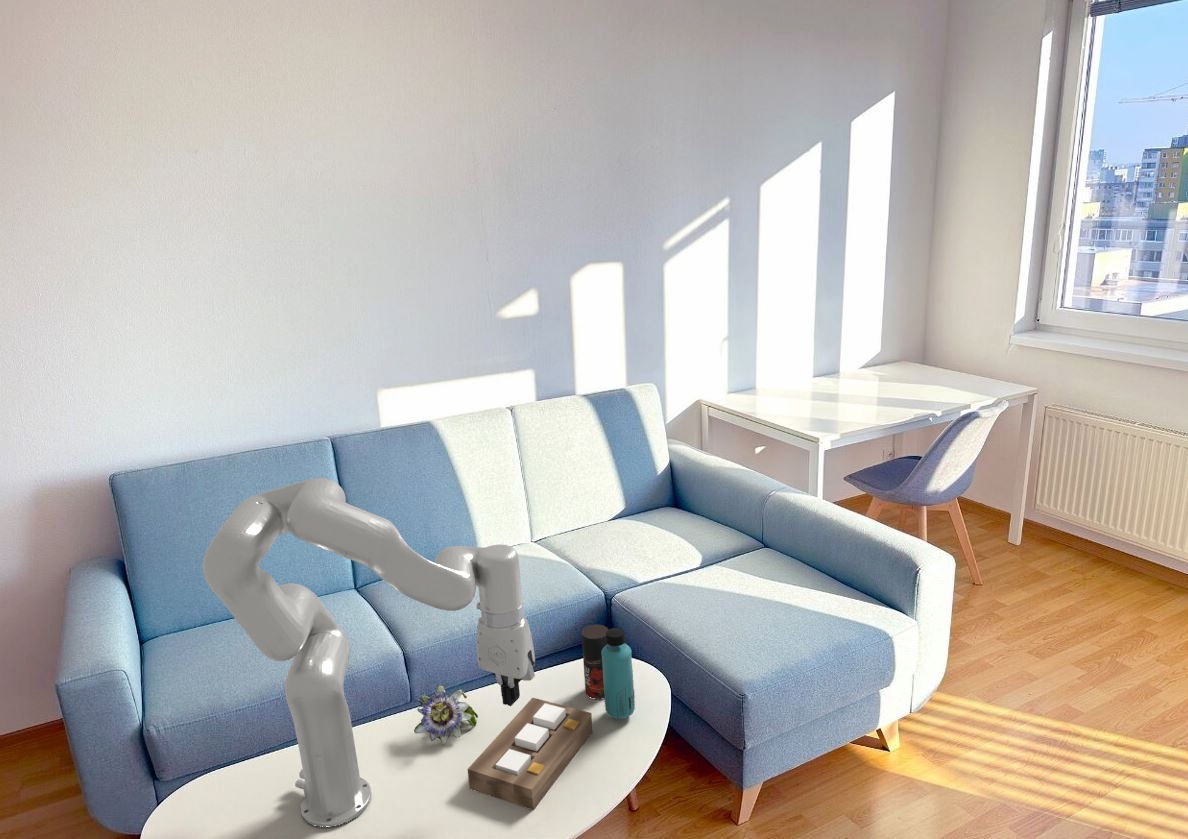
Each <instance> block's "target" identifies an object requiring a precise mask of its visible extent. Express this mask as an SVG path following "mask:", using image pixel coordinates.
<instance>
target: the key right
mask: <svg viewBox="0 0 1188 839" xmlns="http://www.w3.org/2000/svg"><path fill="white" fill-rule="evenodd" d="M565 717H566V712H565V708H561V707H557V706H553V705H549V704H546V703H545V704H544V705H543V706H542V707H541V708H540V709H539V710H538V712H537V713H536V714H535V715H534V716H533V722H534V725H538V726H541V727H545V728H548V729H552V730H555V729H556V728H557V726H558V725H559V724H560V723H561V722H562V720H563V719H564V718H565Z"/></svg>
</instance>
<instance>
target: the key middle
mask: <svg viewBox="0 0 1188 839" xmlns="http://www.w3.org/2000/svg"><path fill="white" fill-rule="evenodd" d="M548 737H549V731H548V729H547V728H543V727H539V726H536V725H532V724H529V723H527V724H526V725H525V726H524V728H523V729H522V730H521V731H520V732H519V733H518V734H517V736H516V737H515V745H516V746H519V747H522V748H526V749H529V750H533V751H536V752H537V751H538V750H539V748H540V747H541V746H542V745H543V743H544V742H545V741H546V740H547V739H548Z"/></svg>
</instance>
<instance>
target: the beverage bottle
mask: <svg viewBox="0 0 1188 839" xmlns="http://www.w3.org/2000/svg"><path fill="white" fill-rule="evenodd" d="M625 634H626V633H625V631H624V630H623V629H622V628H618V627H613V628H608V631H607V632H606V643H607V645H606V646H605V647H604V648H603V649H602V652H601V654H602V664H603V679H602V680H603V683H604V684H603V685H604V690H603V693H604V699H603V700H604V701H603V702H604V710H605V712H606V713H607V715H608V716H609V717H611V718H614V719H625V718H628V717H630V716H632V715H633V714H634V711H635V709H636V700H635V687H634V686H635V684H634V673H633V672H634V670H633V661H632V660H633V659H632V658H633V657H632V649H631V647H630V646H629V645H628V644H627V643H626V635H625Z"/></svg>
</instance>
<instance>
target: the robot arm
mask: <svg viewBox="0 0 1188 839" xmlns="http://www.w3.org/2000/svg"><path fill="white" fill-rule="evenodd" d="M346 500H347V499H346V494H345V491H344V489H343V488H342V487H341V486H340V485H339V484H338V483H337V482H336V481H334V480H332V479H329V478H324V477H323V478H322V477H321V478H320V477H317V478H309V479H306V480H302V481H298V482H295V483H291V484H288V485H284V486H282V487H278V488H275V489H271V490H267V491H263V492H260V493H257V494H254V495H251V496H249V497H248V498H246V499H244V500H243V501H241V502H240V503H239V504H238V505H237V506H236V507H235V509H233V511H232V512H231V514H230V516H228V517H227V519H226V520H225V522H224V523H223V524H222V525H221V526H220V528H219V529H218V531H217V532H216V534H215V535H214V536H213V539H212V540H211V541H210V543H209V545H208V547H207V549H206V551H205V553H204V556H203V559H202V572H203V577H204V580H205V582H206V584H207V585H208V587H209V588H210V589H211V591H212V592H213V593H214V595H215V596H217V597H218V599H219V601H221V603H223V605H224V606H225V607H226V608H227V610H228V611H229V612H230V613H231V615H232V616H233V618H234V619H235V620H236V622H237V623H238V624H239V626H240V627H241V628H242V629H243V631H244V632H245V634H246V635H247V636H248V638H250V640H251V641H252V643H253V644H254V645H255V646H256V648H257V649H258V650H259V652H260V653H261V654H263V655H264V656H265V657H266V658H267V659H269V660H272V661H273V662H274V661H275V662H286V661H289V660H291V659H292V661H291V664H290V666H289V668H288V672H287V676H286V679H285V684H284V685H285V686H284V693H285V700H286V703H287V706H288V709H289V711H290V714H291V717H292V721H293V725H294V729H295V735H296V736H295V737H296V740H297V745H298V749H299V750H298V751H299V756H300V761H301V766H302V769H300V771H299V778H300V779H297V780H296V781H295V787H296V788H297V789H301V790H303V795H304V797H303V798H302V801H301V804H300V812H301V813H302V814H301V816H303V817H302V819H303V818H304V819H305V820H306V821H307V822H308V823H310V824H312V825H316V826H321V827H322V826H323V827H326V826H335V825H339V824H342V823H344V822H347V823H349V822H351V821H353V820H354V819H356V818H357V817H358V816H360V815H361V814H362V813H363V812H364V811H365V810H366V809H367V807H368V806H369V804H370V803H371V799H372V788H371V786H370V783H369V782H368V781H367V780H365V779H364V778H363V777H361V775H360V769H359V763H358V758H357V757H358V756H357V751H356V744H355V737H354V732H353V725H352V719H351V713H350V709H349V706H348V703H347V700H346V696H345V692H344V691H345V689H344V684H345V676H346V674H347V669H348V664H349V662H350V661H349V660H350V656H351V646H350V642H349V640H348V637H347V635H346V634H345V633H344V630H343V629H342V628H341V627H340V626H339V623H337V621H336V619H335V618H334V617H333V616H332V614H331V613H330V612H329V610H328V609H327V607H326V606H325V605H324V603H323V602H322V600H321V599H320V598H319V597H318V596H317V595H316V593H315V592H313V591H312V590H311V589H310V588H308V587H307V586H304V585H302V584H299V583H291V582H290V583H284V584H279V585H278V583H277V582H276V580H275V579H274V578H273V577H272V576H271V575H270V574H269V573H268V572H267V571H265V570H264V569H262V568H261V567H260V563H261V562H262V560H263V559H264V558H265V556H266V555H267V554H268V552H269V551H270V549H271V548H272V546H273V545H274V543H275V542H276V539H277V537H278V536H281V535H284V534H287V533H290V534H291V535H292V536H293V537H295V538H296V539H298V540H300V541H302V542H305V543H306V544H310V545H312V546H314V547H317V548H319V549H322V550H325V551H327V552H330V553H332V554H335V555H337V556H340V557H342V558H345V559H348V560H351V561H354V562H356V563H359V564H360V565H363V566H366V567H367V568H369V569H370V570H371V571H373V572H374V574H376V575H377V576H378V577H379V578H380V579H382V580H383V581H384V582H386V583H387V584H388V585H389V586H390V587H391V588H393V589H394V590H396V591H397V592H398V593H400V594H402V595H404V596H405V597H407V598H409V599H411V600H412V601H416V602H419V603H421V604H424V605H426V606H429V607H432V608H434V609H438V610H442V611H446V612H447V611H449V612H455V611H460V610H462V609H465V608H466V607H468V606H469V605H470V604H471V603H472V601H473V600H474V598H475V595H476V589H477V588H478V595H479V596H478V597H479V601H477V604H476V610H480V614H481V616H480V617H479V618H478V620H477V621H478V622H477V628H476V629H477V630H476V658H477V665H478V667H479V668H480V669H481V670H483V671H487V672H489V673H492V675H493V677H495V680H496V683H497V685H499V686H500V693H501V694H500V695H501V698H502V705H504V706H508V707H512V706H513V705H514V704H515V703H516V702H517V701H518V700H519V698H520V695H521V694H520V685H519V683H520V682H521V681H528V682H529V681H532V680H533V679H534V678H535V676H536V674H535V671H534V668H533V667H535V665H536V655H535V648H534V647H535V646H534V642H533V637H532V632H531V628H530V625H529V621H528V619H527V618H526V617H525V612H524V603H523V602H524V601H523V591H522V582H521V571H520V570H521V569H520V559H519V554H518V552H517V550H516V549H515V548H514V547H512V546H510V545H507V544H492V545H488V546H486V547H481V546H466V545H451V546H447V547H445V548H443V549H441V550H440V551H439V552H438V554H436V557H435V559H434V562H433V561H432V560H429V559H427V558H425V557H424V556H422V555H421V554H419V553H418V552H416V550H413V549H412V547H411V546H409V544H408V543H407V542H406V541H405V539H404V538H403V537H402V535H401V534H400V532H399V530H398V529H397V527H396V526H395V524H393V523H392V522H391V521H390V520H389V519H387V518H385V517H382V516H379V515H377V514H375V513H373V512H369V511H367V510H364V509H362V508H359V507H356V506H355V505H352V504H349V503H347V501H346ZM355 817H356V818H355ZM353 818H354V819H353ZM304 819H303V820H304ZM352 819H353V820H352ZM305 820H304V821H305ZM350 820H351V821H350ZM306 821H305V822H306ZM348 821H349V822H348ZM307 822H306V823H307ZM308 823H307V824H308ZM310 824H309V825H310ZM312 825H311V826H312ZM342 825H343V824H342ZM339 826H340V825H339ZM321 827H320V828H321ZM335 827H336V826H335Z"/></svg>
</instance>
